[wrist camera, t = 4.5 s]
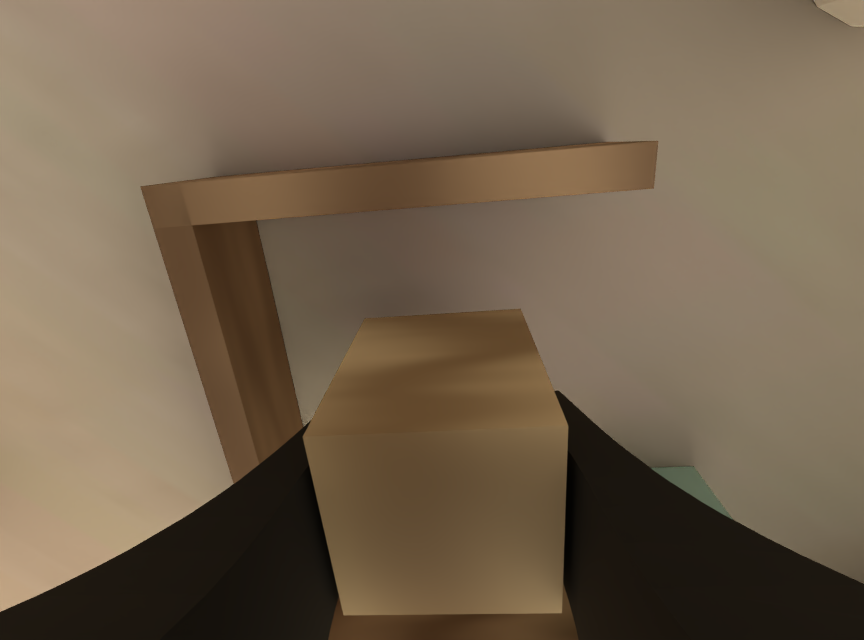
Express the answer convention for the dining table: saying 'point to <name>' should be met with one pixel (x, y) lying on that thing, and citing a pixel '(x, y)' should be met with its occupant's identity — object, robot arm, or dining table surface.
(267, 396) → the corral
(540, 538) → the oak block
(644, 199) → the dining table surface
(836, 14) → the white cylinder
